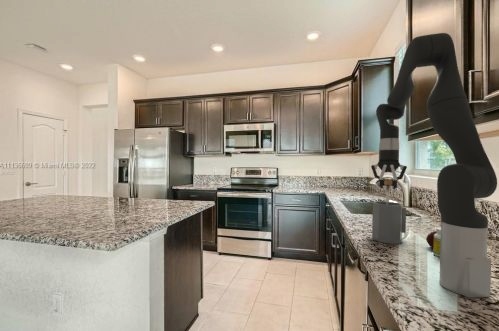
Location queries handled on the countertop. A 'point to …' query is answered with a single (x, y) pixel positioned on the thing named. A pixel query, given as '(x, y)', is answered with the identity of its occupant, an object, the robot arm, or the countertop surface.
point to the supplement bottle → (437, 242)
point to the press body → (388, 222)
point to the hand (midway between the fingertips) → (387, 188)
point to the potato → (431, 239)
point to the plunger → (387, 187)
